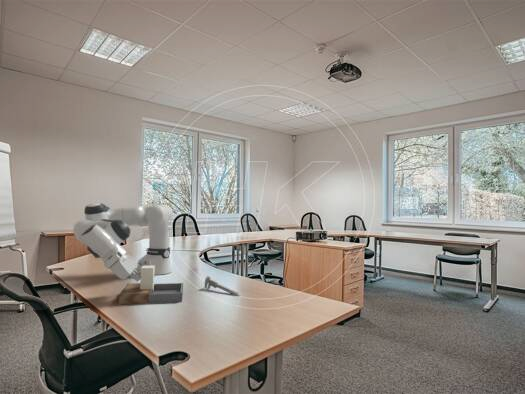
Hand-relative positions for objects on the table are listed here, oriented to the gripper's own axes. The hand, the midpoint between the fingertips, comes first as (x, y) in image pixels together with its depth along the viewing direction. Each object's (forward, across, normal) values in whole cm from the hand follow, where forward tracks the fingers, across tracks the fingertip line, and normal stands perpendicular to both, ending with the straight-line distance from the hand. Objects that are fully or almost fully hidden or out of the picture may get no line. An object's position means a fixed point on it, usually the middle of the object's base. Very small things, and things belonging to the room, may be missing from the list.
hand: (139, 279), depth 135 cm
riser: (+5, -1, -6) cm, 8 cm away
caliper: (+31, -5, +20) cm, 37 cm away
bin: (+14, -1, +3) cm, 14 cm away
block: (+5, -1, 0) cm, 5 cm away
